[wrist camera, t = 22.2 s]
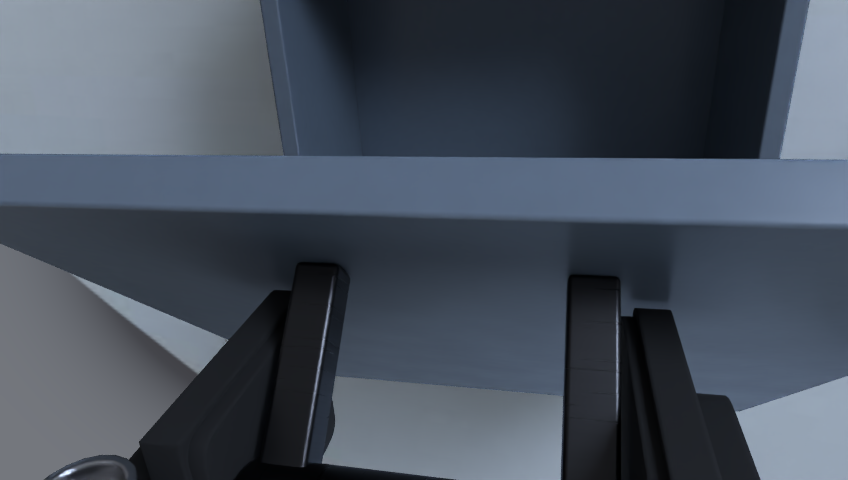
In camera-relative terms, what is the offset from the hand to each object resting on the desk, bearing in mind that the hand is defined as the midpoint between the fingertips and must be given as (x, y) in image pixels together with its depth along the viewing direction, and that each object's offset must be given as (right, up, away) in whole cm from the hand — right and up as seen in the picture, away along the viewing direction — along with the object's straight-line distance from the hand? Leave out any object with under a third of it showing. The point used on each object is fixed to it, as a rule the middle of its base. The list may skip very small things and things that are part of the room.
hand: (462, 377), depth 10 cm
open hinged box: (+3, +7, +15) cm, 17 cm away
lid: (+1, +1, +4) cm, 4 cm away
